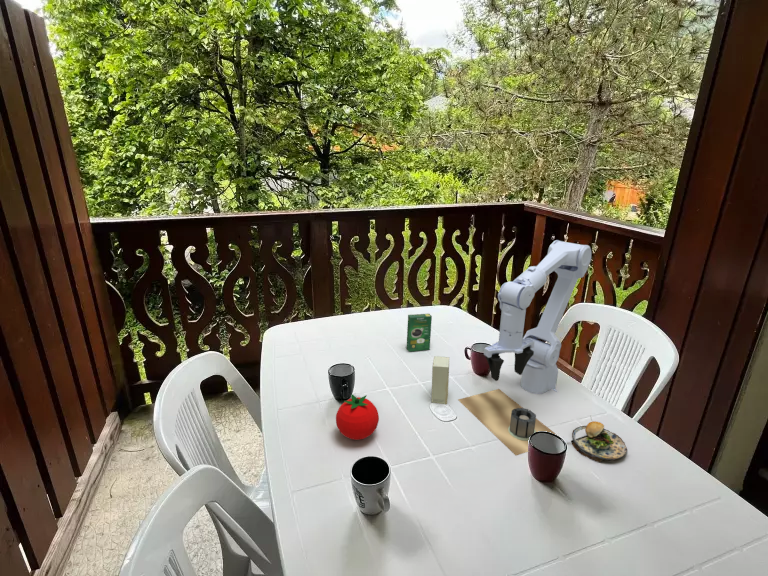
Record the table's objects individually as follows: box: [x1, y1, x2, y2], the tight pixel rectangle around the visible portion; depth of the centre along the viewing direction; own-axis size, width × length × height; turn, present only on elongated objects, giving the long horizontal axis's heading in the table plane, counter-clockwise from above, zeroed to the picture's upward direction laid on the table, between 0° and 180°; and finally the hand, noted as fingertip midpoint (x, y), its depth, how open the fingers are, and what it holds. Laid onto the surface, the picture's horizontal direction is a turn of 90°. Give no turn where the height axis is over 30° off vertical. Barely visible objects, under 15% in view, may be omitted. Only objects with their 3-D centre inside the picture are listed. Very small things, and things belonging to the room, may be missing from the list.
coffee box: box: [406, 313, 433, 353], centre depth 143 cm, size 8×3×13 cm, turn 103°
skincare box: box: [431, 355, 450, 405], centre depth 113 cm, size 6×4×12 cm
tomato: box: [335, 393, 380, 441], centre depth 100 cm, size 10×10×10 cm
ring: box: [510, 407, 537, 438], centre depth 100 cm, size 6×6×4 cm
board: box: [457, 388, 558, 457], centre depth 106 cm, size 14×24×5 cm, turn 23°
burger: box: [570, 415, 628, 463], centre depth 96 cm, size 12×12×8 cm
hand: (506, 375), depth 109 cm, fingers open, 7 cm apart
